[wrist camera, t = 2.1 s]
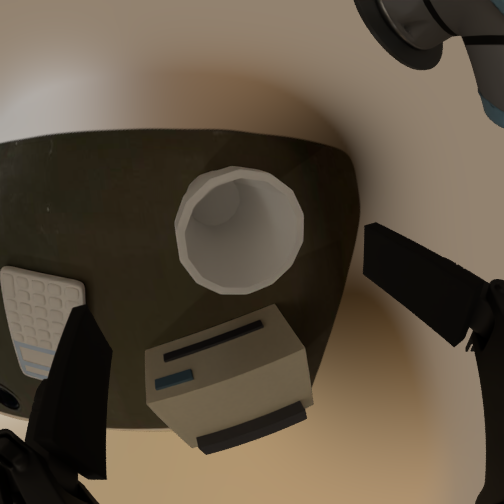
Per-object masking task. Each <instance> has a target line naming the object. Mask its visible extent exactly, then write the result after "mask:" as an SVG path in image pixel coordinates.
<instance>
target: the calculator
mask: <svg viewBox="0 0 504 504" xmlns="http://www.w3.org/2000/svg"><path fill="white" fill-rule="evenodd" d="M0 281H1V289H2V295H3V301H4V306H5V311H6V316H7V321H8V325H9V329H10V333H11V337H12V341H13V345H14V348H15V352H16V355H17V358H18V362H19V365H20V367H21V370H22V372H23V373H24V374H25V375H27V376H29V377H32V378H36V379H39V380H43V379H47V378H48V374H49V371H50V368H51V365H52V362H53V358H54V355H55V352H56V350H57V347H58V344H59V341H60V338H61V336H62V333H63V330H64V328H65V325H66V322H67V320H68V317H69V315H70V312H71V310H72V308H73V307H77V306H80V305H84V304H86V302H85V287H84V284H83V283H82V282H80V281H78V280H74V279H69V278H64V277H59V276H54V275H49V274H44V273H39V272H35V271H30V270H26V269H21V268H17V267H12V266H4V267H3V268H2V269H1V271H0Z"/></svg>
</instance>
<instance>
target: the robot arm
mask: <svg viewBox="0 0 504 504" xmlns="http://www.w3.org/2000/svg"><path fill="white" fill-rule="evenodd" d="M375 2H376V5H377V8H378V10H379V12H380V14H381V16H382V18H383V19H384V21H385V23H386V24H387V25H388V27H389V28H390V29H391V31H392V32H393V33H394V34H395V35H396V36H397V37H398V38H399V39H400V40H401V41H402V42H403V43H405V44H406V45H408V46H409V47H411V48H413V49H416V50H427V49H431V48H433V47H435V46H437V45H438V44H440V43H442V42H443V41H445V40H447V39H448V38H450V37H452V36H462V39H463V41H464V44H465V47H466V50H467V53H468V55H469V58H470V61H471V64H472V68H473V71H474V74H475V78H476V82H477V86H478V93H479V95H480V97H481V100H482V104H483V107H484V111H485V113H486V115H487V116H488V117H489V119H490V120H492V121H493V122H494V123H495V124H497V125H498V126H500V127H502V128H504V0H375ZM364 227H365V229H364V230H365V231H364V265H363V274H364V275H365V276H366V277H367V278H369V279H370V280H371V281H373V282H374V283H375V284H377V285H378V286H379V287H381V288H382V289H383V290H384V291H386V292H387V293H388V294H390V295H391V296H392V297H393V298H395V299H396V300H397V301H398V302H400V303H401V304H402V305H404V306H405V307H406V308H407V309H409V310H410V311H411V312H412V313H413V314H415V315H416V316H417V317H418V318H420V319H421V320H422V321H423V322H425V323H426V324H427V325H428V326H429V327H431V328H432V329H433V330H434V331H435V332H437V333H438V334H439V335H440V336H441V337H443V338H444V339H445V340H446V341H447V342H449V343H450V344H451V345H452V346H453V347H455V346H456V345H458V344H459V343H460V342H461V341H462V340H463V339H464V338H465V336H466V334H467V331H468V329H469V327H470V328H471V329H472V330H473V332H472V334H471V337H470V339H469V341H468V343H467V346H466V352H467V351H468V349H469V347H470V345H471V344H473V346H472V348H471V351H474V352H475V356H476V361H477V366H478V371H479V377H480V384H481V390H482V398H483V406H484V417H485V433H486V474H485V484H484V487H483V489H482V491H481V492H480V494H479V495H478V497H477V500H476V502H475V504H504V280H500V279H494V280H492V281H491V282H490V283H488V282H486V281H484V280H483V279H481V278H480V277H478V276H476V275H475V274H473V273H471V272H470V271H468V270H466V269H463V267H461V266H460V265H456V263H454V262H453V261H451V260H449V259H447V258H444V257H442V256H440V255H438V254H436V253H435V252H433V251H431V250H429V249H427V248H425V247H424V246H422V245H420V244H418V243H416V242H414V241H412V240H410V239H408V238H406V237H404V236H402V235H400V234H399V233H396V232H395V231H393V230H390V229H389V228H386V227H385V226H382V225H380V224H378V223H376V222H375V223H372V224H368V225H365V226H364ZM112 352H113V351H112V349H111V347H110V346H109V344H108V342H107V341H106V339H105V337H104V335H103V334H102V332H101V330H100V328H99V326H98V325H97V323H96V321H95V319H94V317H93V315H92V313H91V312H90V310H89V308H88V306H87V304H84V305H80V306H77V307H73V308H72V310H71V312H70V315H69V317H68V320H67V322H66V325H65V328H64V330H63V333H62V336H61V338H60V341H59V344H58V347H57V350H56V352H55V355H54V358H53V362H52V365H51V368H50V371H49V374H48V378H47V379H43V381H42V382H41V384H40V385H39V387H38V388H37V391H36V394H35V398H34V403H33V406H32V412H31V414H30V418H29V423H28V427H27V432H26V437H25V442H24V441H23V440H21V439H20V438H19V437H18V436H17V435H15V434H14V433H13V432H12V431H11V430H8V429H2V430H0V504H99V503H98V502H97V501H96V499H95V498H94V497H93V496H92V495H91V493H90V492H89V491H88V490H87V489H86V487H85V486H84V485H83V484H82V483H81V482H80V481H78V473H79V474H80V475H82V476H84V477H85V478H87V479H91V480H96V479H97V480H106V479H107V476H106V419H107V401H108V388H109V377H110V368H111V359H112Z"/></svg>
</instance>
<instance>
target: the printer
mask: <svg viewBox="0 0 504 504" xmlns="http://www.w3.org/2000/svg"><path fill="white" fill-rule="evenodd" d="M145 379H146V403H147V405H148V406H149V407H150V408H151V409H152V410H153V411H154V412H155V413H156V414H157V415H158V416H159V417H160V419H161V420H162V421H163V422H164V423H166V424H167V425H168V426H169V427H170V428H171V429H172V430H173V431H174V432H175V433H176V434H177V435H178V436H179V437H180V438H181V439H182V440H184V441H185V442H186V443H187V444H188V445H189V446H190V447H192V448H194V447H198V448H199V449H200V450H201V451H202V452H203V453H204V454H206V455H207V454H211V453H215V452H219V451H222V450H225V449H229V448H232V447H235V446H238V445H241V444H244V443H247V442H250V441H253V440H256V439H259V438H261V437H264V436H267V435H269V434H272V433H275V432H277V431H280V430H282V429H285V428H287V427H289V426H291V425H294V424H296V423H299V422H301V421H303V420H305V419H307V416H306V412H305V408H307V407H309V406H311V405H313V397H312V389H311V383H310V376H309V369H308V363H307V356H306V350H305V347H304V346H303V344H302V343H301V341H300V340H299V338H298V337H297V336H296V334H295V333H294V331H293V330H292V328H291V327H290V325H289V324H288V322H287V321H286V320H285V318H284V317H283V315H282V314H281V312H280V311H279V309H278V308H277V306H276V305H275V304H272V305H270V306H267V307H265V308H262V309H259V310H257V311H254V312H252V313H249V314H247V315H244V316H241V317H239V318H236V319H233V320H231V321H228V322H225V323H223V324H220V325H217V326H214V327H212V328H209V329H206V330H203V331H201V332H198V333H195V334H192V335H189V336H186V337H183V338H180V339H177V340H174V341H171V342H168V343H165V344H162V345H159V346H156V347H153V348H150V349H147V350H145Z"/></svg>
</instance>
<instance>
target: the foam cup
mask: <svg viewBox="0 0 504 504" xmlns="http://www.w3.org/2000/svg"><path fill="white" fill-rule="evenodd" d="M174 224H175V232H176V238H177V245H178V251H179V258H180V262H181V263H182V265H183V266H184V267H185V268H186V270H187V271H188V272H189V274H190V275H191V276H192V278H193V279H194V280H195V282H196V283H198V284H200V285H202V286H204V287H206V288H208V289H210V290H212V291H215V292H217V293H219V294H250V293H252V292H254V291H257V290H259V289H262V288H264V287H267V286H269V285H272V284H273V283H274V282H275V281H276V280H277V279H278V278H279V277H280V276H281V275H282V274H284V273H285V272H286V271H287V270H288V269H289V268H290V267H291V266H292V264H293V262H294V260H295V258H296V256H297V253H298V251H299V249H300V247H301V245H302V243H303V227H304V214H303V212H302V210H301V208H300V205H299V203H298V201H297V199H296V197H295V195H294V192H293V190H291V189H290V188H289V187H287V186H286V185H285V184H284V183H282V182H281V181H280V180H278V179H277V178H276V177H274V176H273V175H272V174H270V173H267V172H264V171H261V170H258V169H251V168H244V167H237V166H230V167H227V168H224V169H221V170H216V171H210V172H207V173H204V174H201V175H199V176H198V177H197V178H196V179H195V180H194V181H193V182H191V183H190V184H189V187H188V190H187V192H186V194H185V195H184V196H183V199H182V201H181V204H180V207H179V210H178V213H177V216H176V219H175V222H174Z"/></svg>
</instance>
